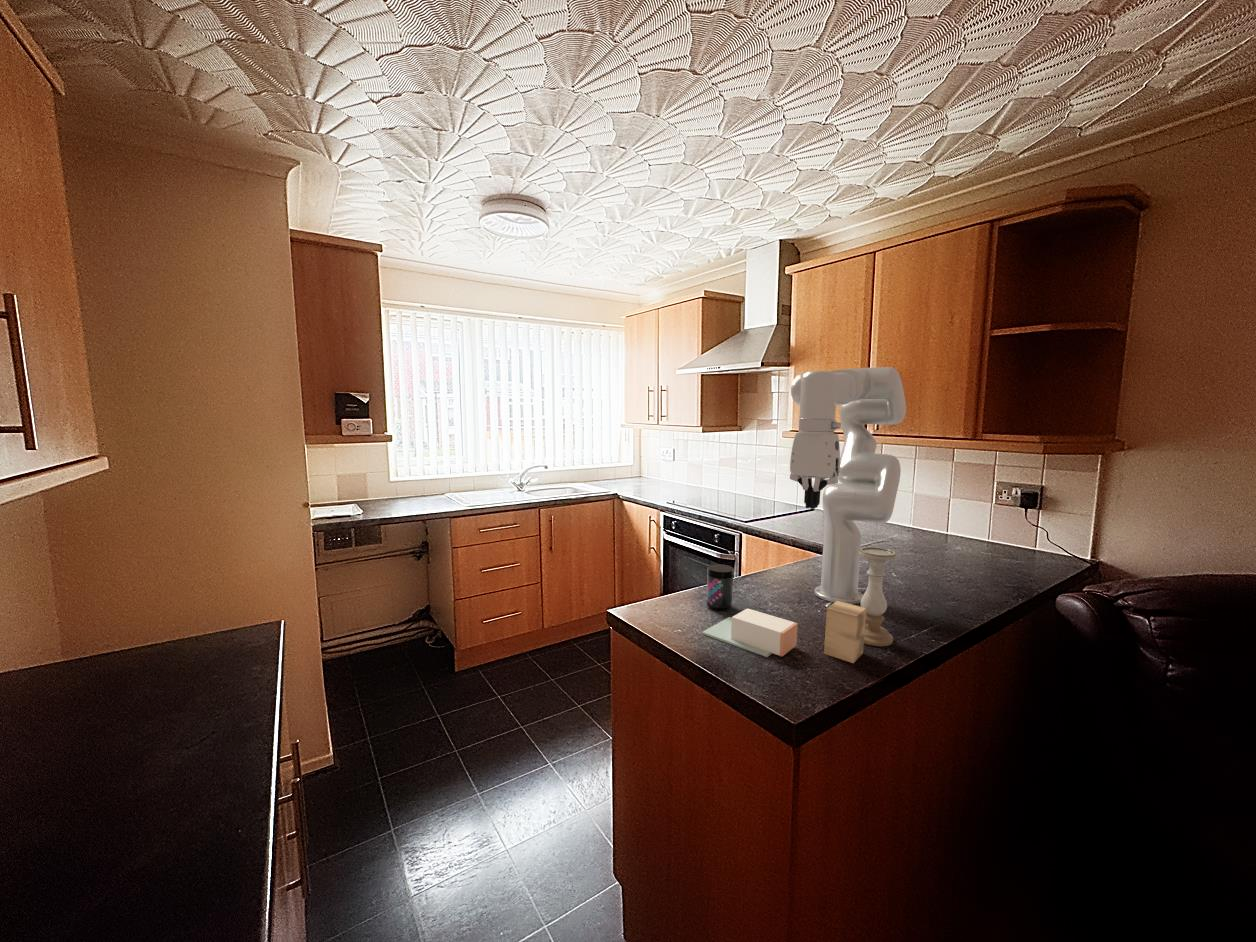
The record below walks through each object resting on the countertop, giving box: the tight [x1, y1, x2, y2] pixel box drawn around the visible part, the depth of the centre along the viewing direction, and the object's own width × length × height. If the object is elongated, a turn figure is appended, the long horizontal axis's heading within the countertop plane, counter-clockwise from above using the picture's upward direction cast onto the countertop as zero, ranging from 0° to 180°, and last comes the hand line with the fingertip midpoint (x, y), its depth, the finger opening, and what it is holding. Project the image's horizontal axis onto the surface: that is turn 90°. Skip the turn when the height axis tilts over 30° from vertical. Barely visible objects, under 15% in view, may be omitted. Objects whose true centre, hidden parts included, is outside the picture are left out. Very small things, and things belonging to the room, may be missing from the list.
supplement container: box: [706, 563, 735, 612], centre depth 131 cm, size 7×7×10 cm
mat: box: [701, 616, 773, 658], centre depth 114 cm, size 12×16×1 cm
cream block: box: [731, 608, 799, 657], centre depth 110 cm, size 7×5×12 cm
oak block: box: [823, 601, 866, 664], centre depth 106 cm, size 6×6×10 cm
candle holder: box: [859, 546, 897, 647], centre depth 113 cm, size 9×9×20 cm
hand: (811, 507), depth 115 cm, fingers closed
